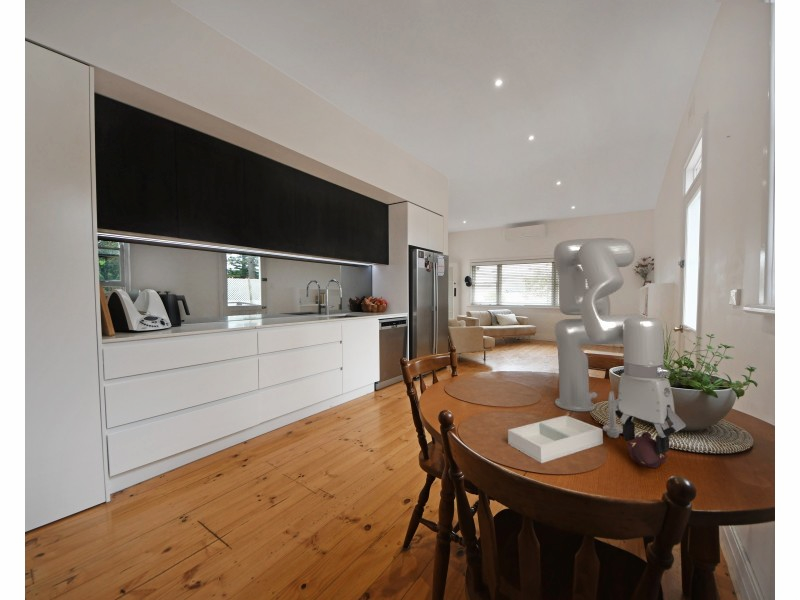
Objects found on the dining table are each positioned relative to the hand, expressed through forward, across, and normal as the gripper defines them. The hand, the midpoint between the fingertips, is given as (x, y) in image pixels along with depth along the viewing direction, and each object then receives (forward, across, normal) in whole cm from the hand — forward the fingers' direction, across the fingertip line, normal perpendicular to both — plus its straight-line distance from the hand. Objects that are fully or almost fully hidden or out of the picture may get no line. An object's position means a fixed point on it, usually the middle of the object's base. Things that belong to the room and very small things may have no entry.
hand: (645, 445), depth 76 cm
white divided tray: (+5, +18, +9) cm, 20 cm away
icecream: (+5, 0, 0) cm, 5 cm away
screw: (+5, +14, -9) cm, 17 cm away
